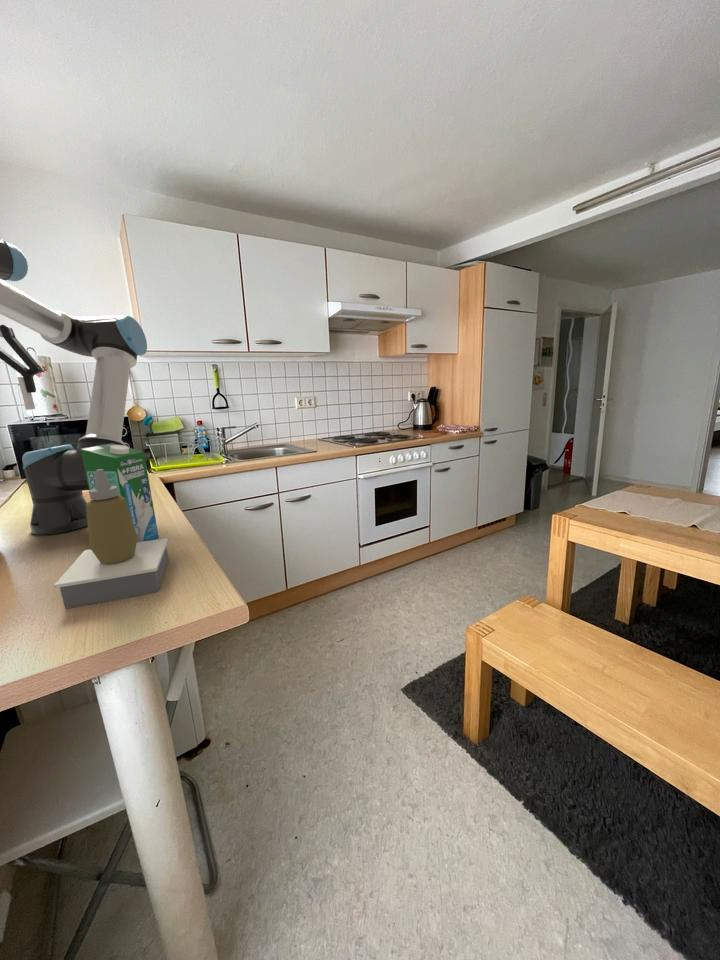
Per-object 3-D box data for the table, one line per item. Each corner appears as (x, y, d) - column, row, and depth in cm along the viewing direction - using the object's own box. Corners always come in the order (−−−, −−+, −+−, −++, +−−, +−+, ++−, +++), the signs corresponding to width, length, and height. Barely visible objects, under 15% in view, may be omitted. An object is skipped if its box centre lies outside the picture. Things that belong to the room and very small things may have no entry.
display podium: (89, 571, 83) (84, 550, 82) (171, 558, 88) (167, 538, 87) (60, 610, 68) (54, 585, 67) (160, 592, 73) (156, 568, 72)
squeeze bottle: (123, 548, 82) (106, 464, 78) (150, 552, 79) (134, 466, 75) (83, 564, 75) (62, 473, 71) (111, 570, 72) (91, 475, 67)
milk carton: (133, 551, 93) (113, 448, 87) (101, 549, 95) (79, 448, 89) (159, 536, 102) (142, 442, 96) (129, 535, 104) (111, 442, 98)
